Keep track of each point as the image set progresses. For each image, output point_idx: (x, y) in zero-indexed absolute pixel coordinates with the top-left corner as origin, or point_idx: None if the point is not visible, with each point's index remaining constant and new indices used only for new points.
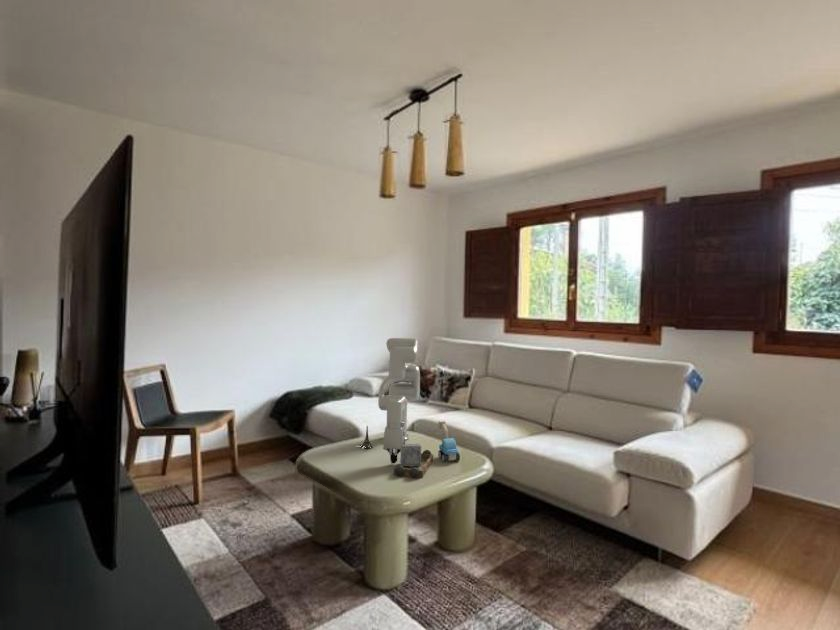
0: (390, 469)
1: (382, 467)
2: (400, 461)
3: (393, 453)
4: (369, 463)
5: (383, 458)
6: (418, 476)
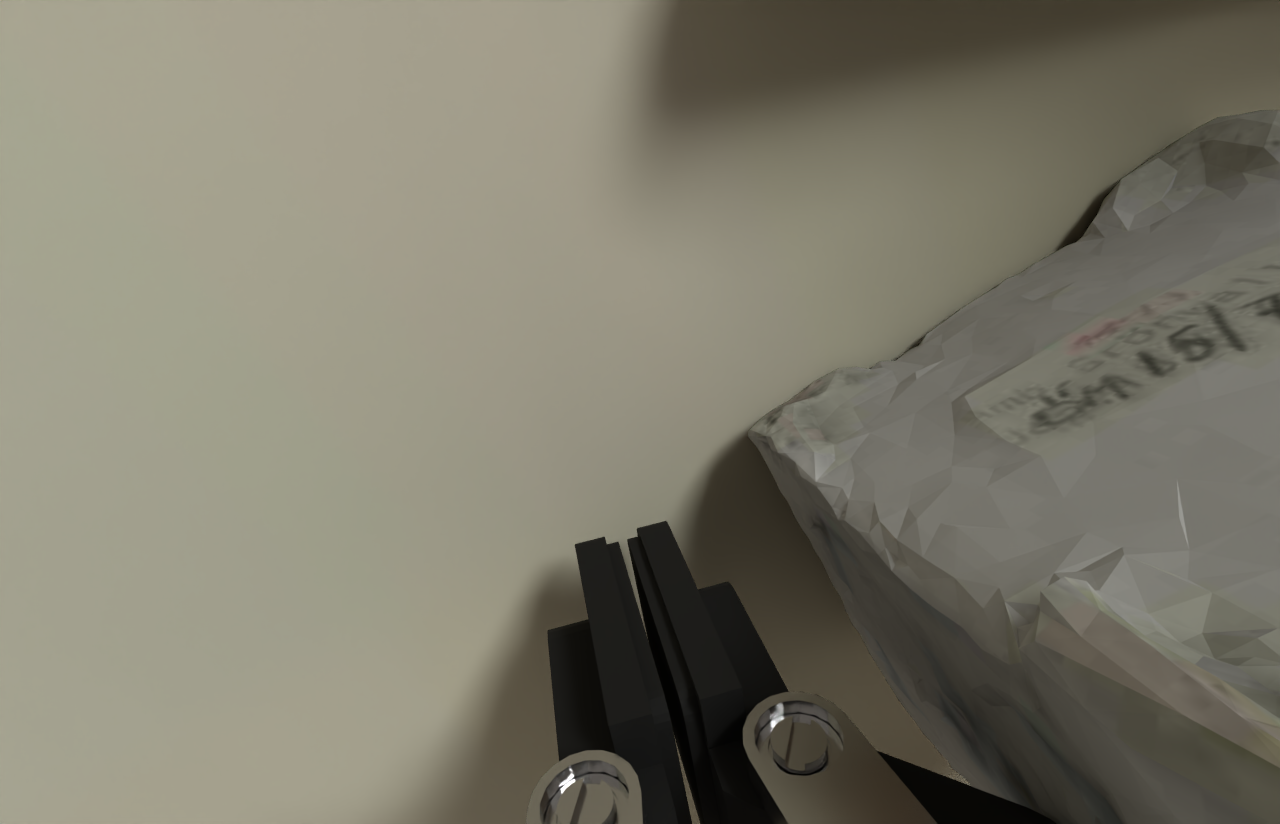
0: (684, 771)
1: (481, 791)
2: (826, 564)
3: (676, 819)
4: (26, 805)
5: (30, 317)
6: None
